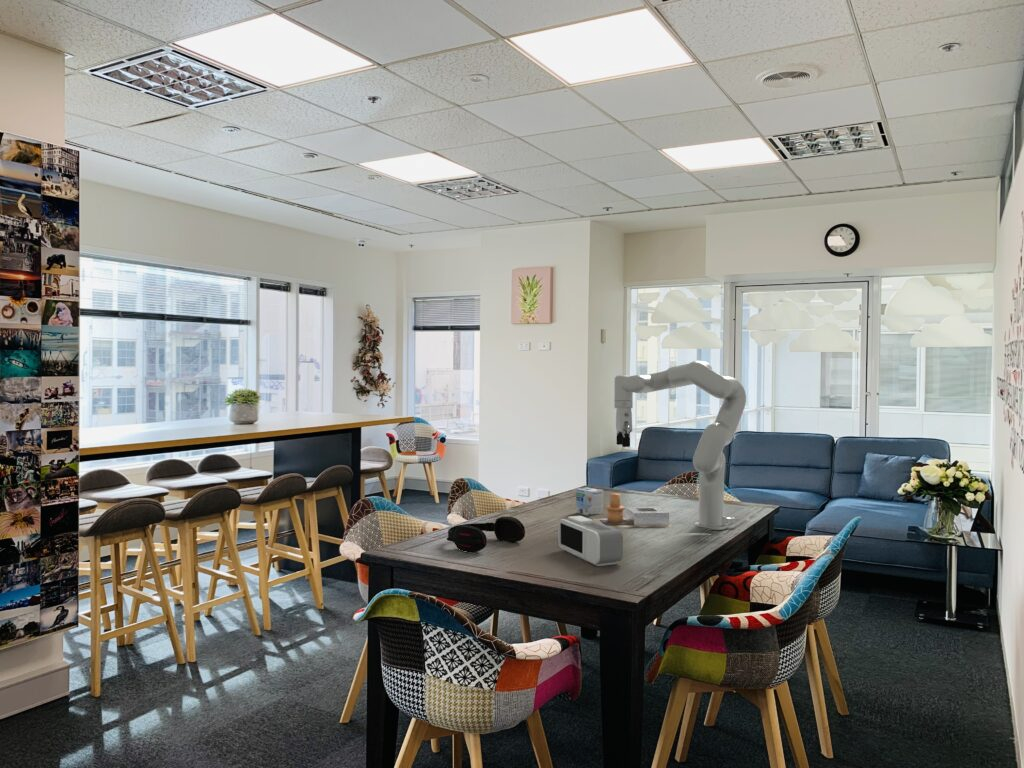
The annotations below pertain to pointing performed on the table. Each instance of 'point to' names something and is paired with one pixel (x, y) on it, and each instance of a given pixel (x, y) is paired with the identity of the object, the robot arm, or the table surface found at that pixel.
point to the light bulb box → (589, 501)
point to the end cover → (615, 509)
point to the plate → (641, 518)
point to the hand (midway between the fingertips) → (623, 445)
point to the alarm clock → (590, 540)
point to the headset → (475, 539)
